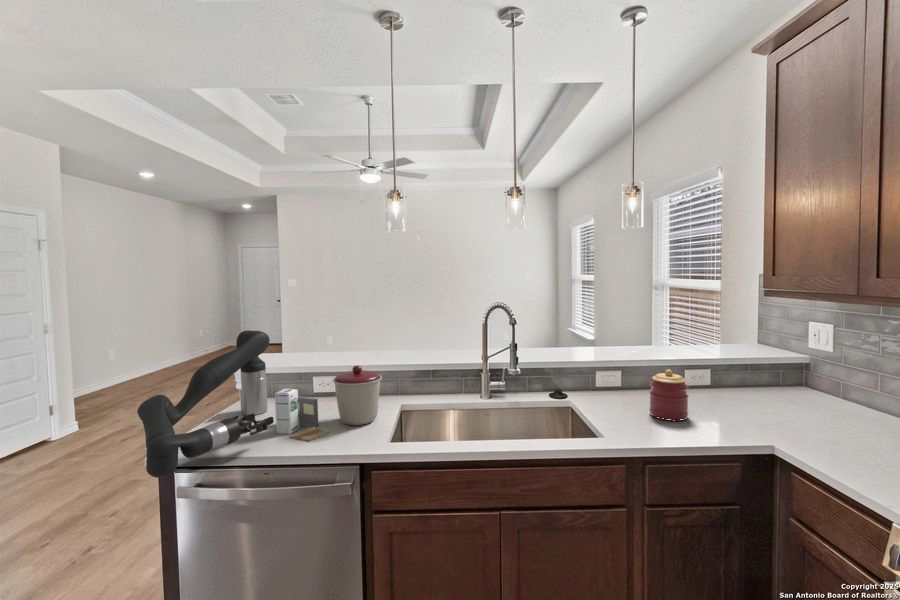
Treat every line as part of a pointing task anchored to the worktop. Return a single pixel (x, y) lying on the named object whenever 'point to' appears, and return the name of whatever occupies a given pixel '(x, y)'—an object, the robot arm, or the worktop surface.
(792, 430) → the worktop surface
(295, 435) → the coaster
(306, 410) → the label board
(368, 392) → the canister
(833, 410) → the worktop surface
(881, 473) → the worktop surface
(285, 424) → the syrup box
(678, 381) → the canister
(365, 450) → the worktop surface
